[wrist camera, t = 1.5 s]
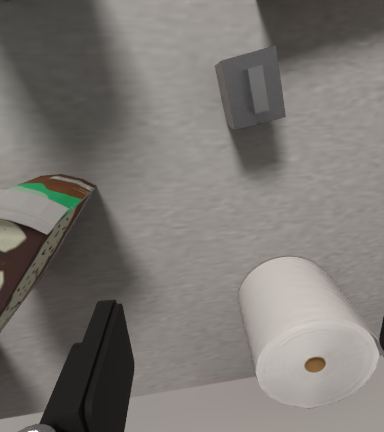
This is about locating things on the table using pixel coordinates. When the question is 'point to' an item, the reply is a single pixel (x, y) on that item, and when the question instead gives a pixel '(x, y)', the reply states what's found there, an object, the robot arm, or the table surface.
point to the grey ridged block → (251, 88)
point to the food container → (34, 232)
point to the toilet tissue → (305, 334)
